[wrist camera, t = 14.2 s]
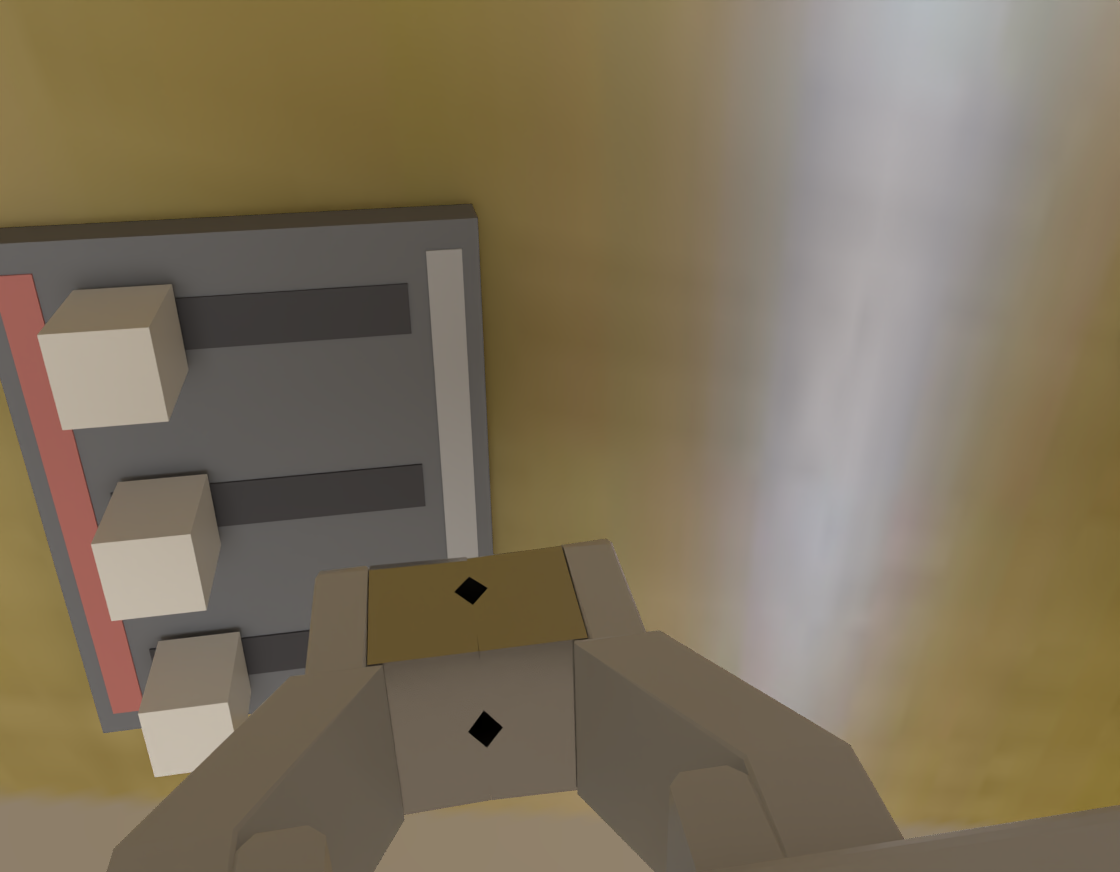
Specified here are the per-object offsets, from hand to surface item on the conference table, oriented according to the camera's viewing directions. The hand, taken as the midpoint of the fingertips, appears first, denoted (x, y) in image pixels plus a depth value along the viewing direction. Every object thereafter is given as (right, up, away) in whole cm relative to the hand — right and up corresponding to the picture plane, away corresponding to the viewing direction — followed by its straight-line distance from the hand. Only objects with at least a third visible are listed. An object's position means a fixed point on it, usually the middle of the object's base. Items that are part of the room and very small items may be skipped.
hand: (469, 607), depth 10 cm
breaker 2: (-13, -7, +28) cm, 32 cm away
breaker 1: (-13, +5, +22) cm, 26 cm away
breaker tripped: (-13, -1, +25) cm, 28 cm away
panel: (-10, 0, +28) cm, 29 cm away
